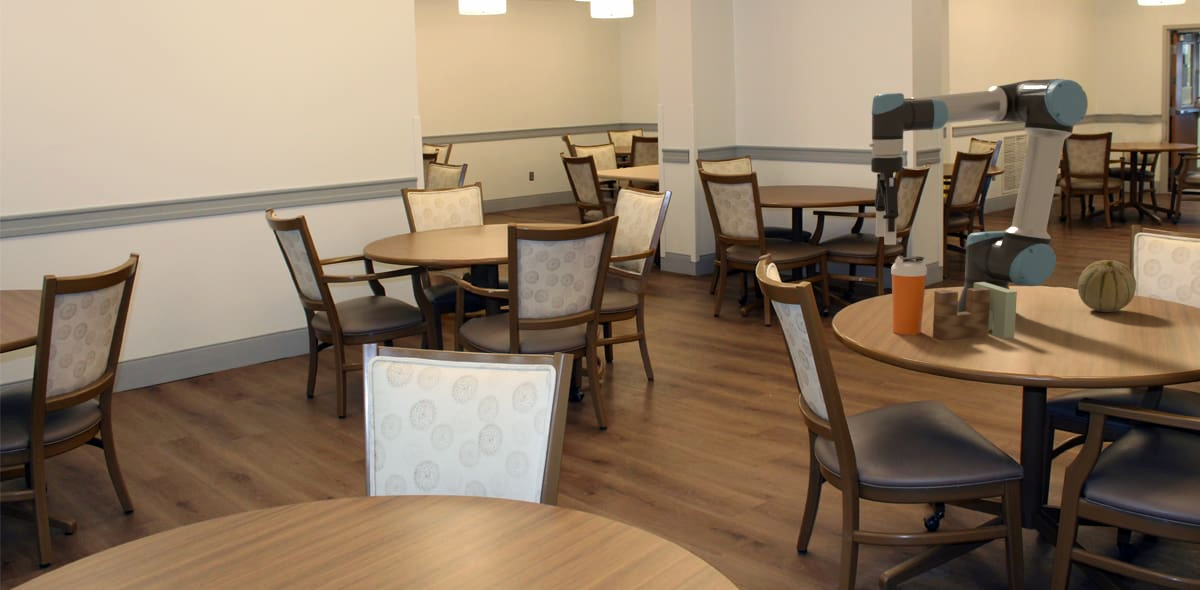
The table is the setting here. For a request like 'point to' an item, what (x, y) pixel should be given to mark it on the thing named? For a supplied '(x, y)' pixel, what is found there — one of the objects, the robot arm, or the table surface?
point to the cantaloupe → (1107, 286)
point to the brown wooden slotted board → (961, 314)
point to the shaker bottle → (908, 294)
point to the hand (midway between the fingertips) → (885, 240)
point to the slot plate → (1001, 310)
